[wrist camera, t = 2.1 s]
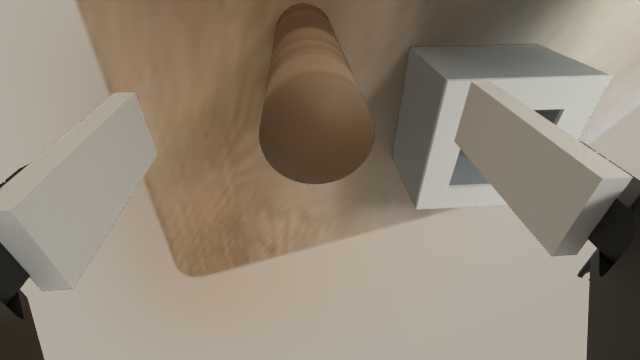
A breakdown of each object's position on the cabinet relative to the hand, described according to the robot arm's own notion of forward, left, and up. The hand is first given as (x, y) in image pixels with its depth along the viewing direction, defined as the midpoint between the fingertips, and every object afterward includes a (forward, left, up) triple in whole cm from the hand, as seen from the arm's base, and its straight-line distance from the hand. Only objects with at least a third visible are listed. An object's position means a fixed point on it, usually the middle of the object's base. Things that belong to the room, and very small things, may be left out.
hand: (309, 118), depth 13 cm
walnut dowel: (0, 0, -13) cm, 13 cm away
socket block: (+6, +13, -13) cm, 19 cm away
